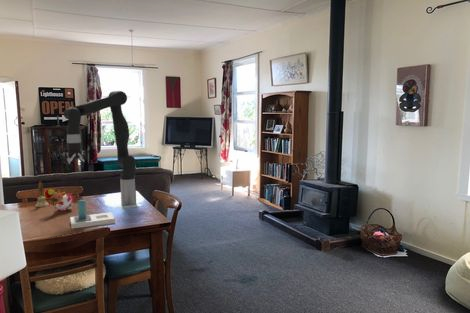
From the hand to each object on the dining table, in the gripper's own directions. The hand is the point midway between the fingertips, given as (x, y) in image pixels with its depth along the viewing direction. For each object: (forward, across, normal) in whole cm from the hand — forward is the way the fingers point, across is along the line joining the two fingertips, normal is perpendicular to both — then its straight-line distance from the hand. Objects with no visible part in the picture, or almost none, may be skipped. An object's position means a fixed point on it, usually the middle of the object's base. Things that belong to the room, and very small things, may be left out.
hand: (75, 168), depth 215 cm
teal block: (+24, -11, -20) cm, 34 cm away
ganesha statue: (+28, -2, +15) cm, 32 cm away
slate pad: (+25, -11, -20) cm, 34 cm away
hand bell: (+28, -1, +40) cm, 48 cm away
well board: (+28, -6, -23) cm, 37 cm away
